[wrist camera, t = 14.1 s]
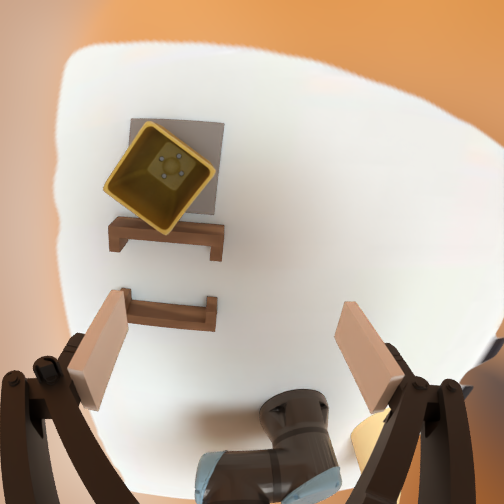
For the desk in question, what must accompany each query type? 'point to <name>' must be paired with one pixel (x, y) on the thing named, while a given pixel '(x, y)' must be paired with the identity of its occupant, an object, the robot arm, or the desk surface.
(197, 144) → the slate mat
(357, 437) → the cone light
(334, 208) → the desk surface
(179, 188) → the flower pot
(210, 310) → the pair of brown brackets
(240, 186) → the desk surface
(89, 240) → the desk surface
